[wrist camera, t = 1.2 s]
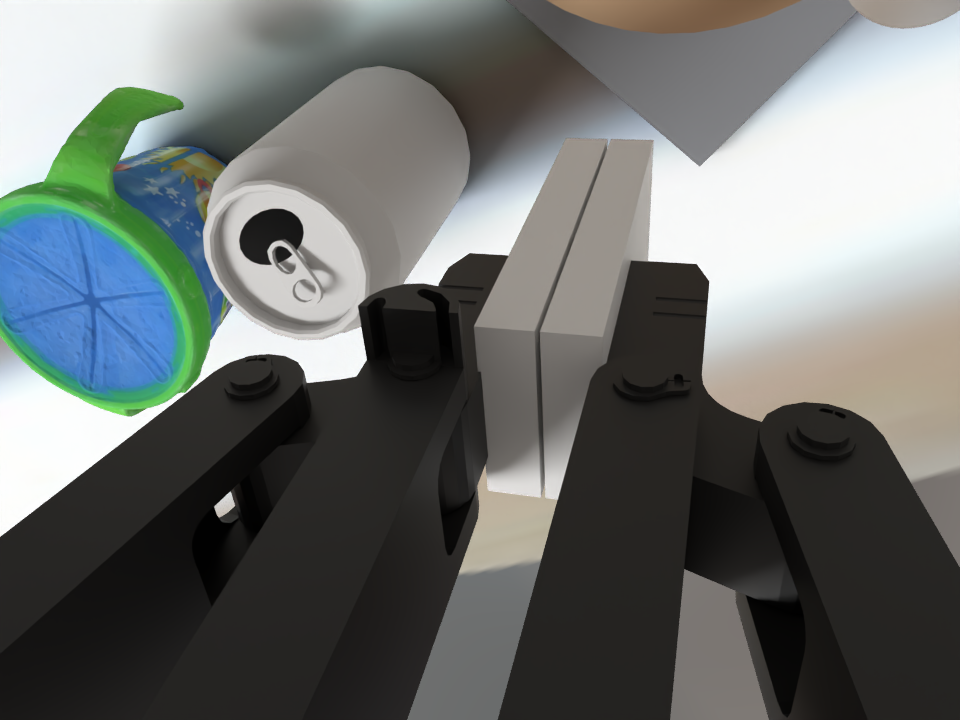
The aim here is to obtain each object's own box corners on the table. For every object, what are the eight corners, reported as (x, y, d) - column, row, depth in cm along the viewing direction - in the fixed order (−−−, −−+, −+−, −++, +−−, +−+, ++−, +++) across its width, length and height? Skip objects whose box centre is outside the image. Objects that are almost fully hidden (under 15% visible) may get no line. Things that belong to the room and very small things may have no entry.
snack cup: (114, 22, 39) (-52, 91, 31) (325, 110, 39) (214, 202, 31) (104, 289, 49) (-24, 395, 41) (274, 361, 48) (179, 481, 40)
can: (404, 24, 36) (278, 121, 26) (508, 169, 38) (428, 305, 29) (288, 119, 40) (142, 233, 30) (389, 245, 42) (284, 387, 33)
